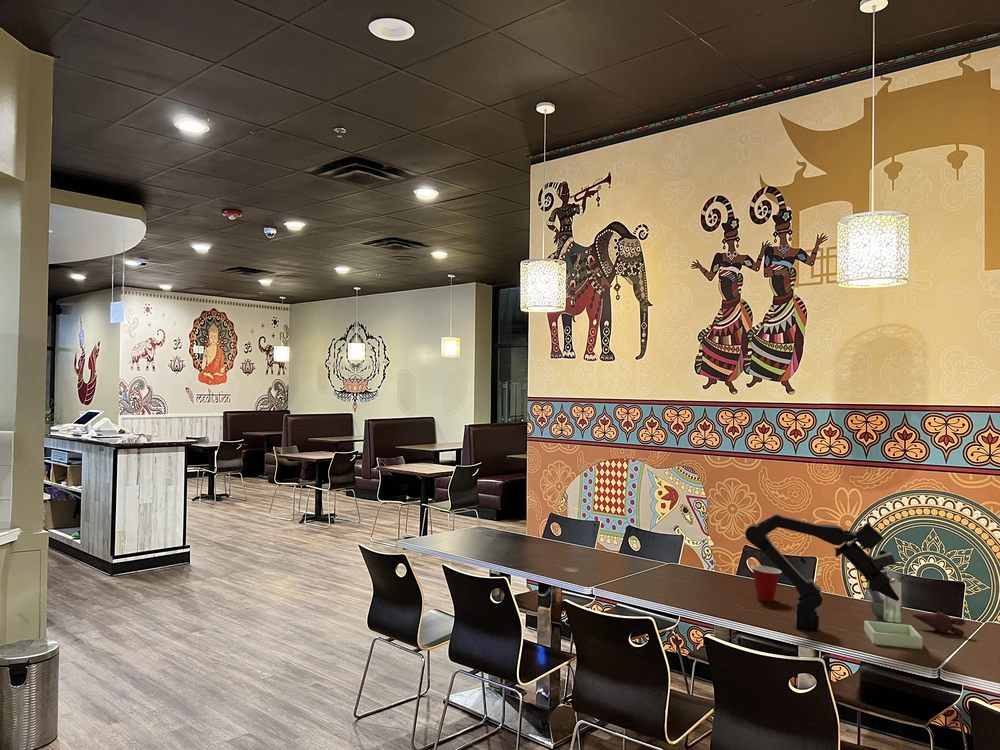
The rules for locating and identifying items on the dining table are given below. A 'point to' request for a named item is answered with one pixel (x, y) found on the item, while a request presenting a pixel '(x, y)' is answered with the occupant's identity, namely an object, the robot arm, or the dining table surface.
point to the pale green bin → (893, 634)
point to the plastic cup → (765, 582)
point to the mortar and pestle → (878, 606)
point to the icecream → (941, 622)
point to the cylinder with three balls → (893, 603)
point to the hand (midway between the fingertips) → (897, 598)
